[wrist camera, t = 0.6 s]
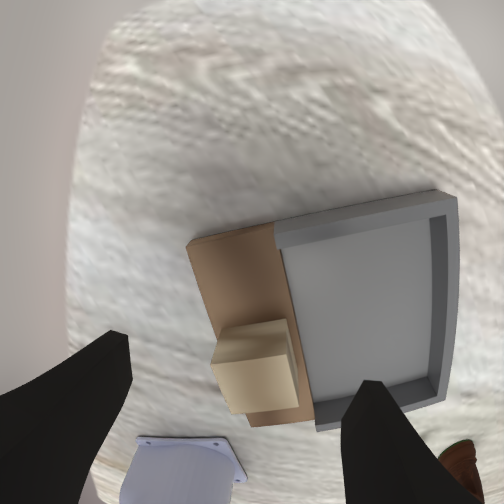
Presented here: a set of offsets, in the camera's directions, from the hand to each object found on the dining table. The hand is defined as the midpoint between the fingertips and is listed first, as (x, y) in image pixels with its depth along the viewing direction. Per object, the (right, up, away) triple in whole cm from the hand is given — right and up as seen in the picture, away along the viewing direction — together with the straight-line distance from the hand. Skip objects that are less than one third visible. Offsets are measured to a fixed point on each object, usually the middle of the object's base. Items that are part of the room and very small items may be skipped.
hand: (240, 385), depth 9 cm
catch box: (+8, 0, +11) cm, 13 cm away
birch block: (+1, -2, +11) cm, 11 cm away
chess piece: (+23, -18, +16) cm, 34 cm away
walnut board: (+1, -2, +12) cm, 12 cm away
